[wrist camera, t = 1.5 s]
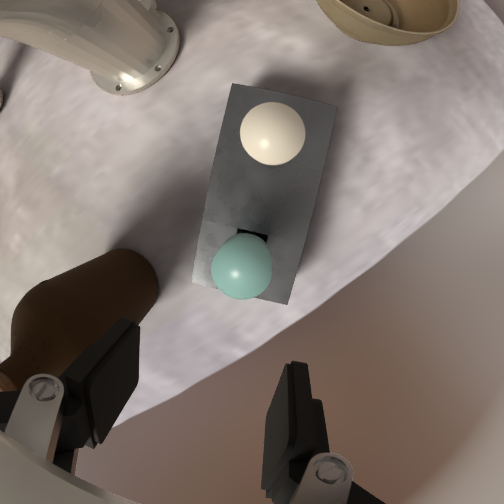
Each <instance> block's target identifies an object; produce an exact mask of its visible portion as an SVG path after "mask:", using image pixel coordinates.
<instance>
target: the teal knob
mask: <svg viewBox="0 0 504 504" xmlns="http://www.w3.org/2000/svg"><path fill="white" fill-rule="evenodd" d="M211 273H212V278H213V281H214V283H215V284H216V286H217V287H218V289H219V290H220V291H221V292H223V293H224V294H225V295H227V296H229V297H231V298H235V299H250V298H254V297H256V296H258V295H259V294H261V293H262V292H263V291H264V290H265V289H266V288H267V286H268V285H269V283H270V280H271V276H272V254H271V251H270V248H269V246H268V245H267V244H266V242H265V241H264V240H262V239H261V238H260V237H258V236H256V235H254V234H249V233H240V234H236V235H234V236H232V237H230V238H229V239H227V240H226V241H225V242H224V244H223V245H222V246H221V248H220V249H219V250H218V252H217V253H216V255H215V257H214V259H213V261H212V266H211Z"/></svg>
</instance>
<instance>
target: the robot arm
mask: <svg viewBox="0 0 504 504" xmlns="http://www.w3.org/2000/svg"><path fill="white" fill-rule="evenodd" d="M156 1H157V0H141V1H140V2H139V0H0V37H3V38H7V39H11V40H14V41H17V42H20V43H23V44H26V45H29V46H32V47H34V48H37V49H40V50H42V51H45V52H47V53H50V54H52V55H55V56H57V57H60V58H62V59H65V60H67V61H69V62H72V63H74V64H76V65H79V66H81V67H83V68H85V69H88V70H90V73H91V76H92V79H93V80H94V82H95V83H96V85H97V86H98V87H100V88H101V89H102V90H104V91H106V92H109V93H112V94H115V95H129V94H133V93H137V92H140V91H142V90H144V89H146V88H148V87H149V86H151V85H152V84H154V83H155V82H157V81H158V80H159V79H160V78H161V77H162V76H163V75H164V74H165V73H166V72H167V71H168V69H169V68H170V67H171V65H172V63H173V62H174V60H175V58H176V55H177V53H178V50H179V45H180V34H179V30H178V28H177V26H176V24H175V22H174V21H173V20H172V19H171V17H169V16H168V15H167V14H166V13H164V12H161V11H159V10H156V8H157V3H156ZM172 31H173V32H172ZM160 69H161V70H160ZM159 70H160V71H159ZM120 89H121V90H120ZM139 346H140V326H138V325H137V323H136V321H135V320H131V319H128V318H125V317H121V318H119V319H118V320H117V322H116V323H115V324H114V325H113V326H112V327H111V328H110V329H109V330H108V331H107V332H106V333H105V334H104V335H103V336H102V337H101V338H100V339H99V340H98V341H97V342H96V341H95V342H92V343H91V344H90V345H89V346H88V347H87V348H86V349H85V350H84V351H83V352H82V353H81V354H80V355H79V356H78V357H77V358H76V359H75V360H74V361H73V363H72V364H71V365H70V366H69V367H68V368H67V369H66V370H65V371H64V372H63V373H62V374H61V375H60V376H59V377H58V378H56V377H55V376H52V375H49V374H37V375H35V376H32V377H31V378H29V379H28V380H27V381H26V383H25V384H24V386H23V389H22V390H16V391H3V392H0V504H139V503H136V502H134V501H131V500H128V499H126V498H123V497H120V496H118V495H115V494H113V493H111V492H108V491H106V490H104V489H101V488H99V487H97V486H95V485H92V484H90V483H88V482H86V481H84V480H82V479H80V478H78V477H76V476H75V471H76V464H77V458H78V452H79V448H83V447H84V445H86V446H88V447H90V448H92V449H94V448H95V447H96V445H97V443H99V444H102V443H103V441H104V440H105V438H106V436H107V435H108V433H109V431H110V430H111V428H112V426H113V425H114V423H115V421H116V420H117V418H118V416H119V414H120V413H121V411H122V409H123V408H124V406H125V405H126V403H127V401H128V400H129V398H130V396H131V395H132V393H133V391H134V390H135V388H136V386H137V384H138V380H139ZM352 478H353V469H352V466H351V465H350V463H349V462H348V461H347V460H346V459H345V458H343V457H342V456H340V455H337V454H334V453H330V451H329V444H328V438H327V430H326V424H325V418H324V411H323V406H322V401H321V400H319V399H312V394H311V386H310V378H309V371H308V365H307V363H302V362H297V361H292V362H291V364H285V366H284V369H283V372H282V375H281V377H280V380H279V383H278V386H277V388H276V391H275V394H274V396H273V399H272V402H271V404H270V407H269V410H268V412H267V416H266V424H265V439H264V454H263V468H262V482H261V489H263V490H266V498H272V502H273V503H274V504H385V503H384V502H382V501H381V500H379V499H378V498H376V497H375V496H373V495H372V494H370V493H369V492H367V491H366V490H364V489H363V488H362V487H360V486H359V485H357V484H356V483H354V482H353V481H352Z"/></svg>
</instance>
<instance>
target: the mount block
mask: <svg viewBox="0 0 504 504" xmlns="http://www.w3.org/2000/svg"><path fill="white" fill-rule="evenodd" d="M267 102H277V103H282V104H285V105H287V106H289V107H291V108H292V109H293V110H295V111H296V112H297V113H298V115H299V116H300V117H301V119H302V121H303V123H304V127H305V141H304V144H303V146H302V148H301V150H300V151H299V153H298V154H297V155H296V156H295V157H294V158H292V159H291V160H290V161H288V162H286V163H284V164H281V165H266V164H263V163H260V162H259V161H257V160H255V159H254V158H253V157H251V156H250V155H249V154H248V153H247V152H246V150H245V149H244V147H243V145H242V142H241V138H240V128H241V124H242V121H243V119H244V117H245V116H246V114H247V113H248V112H249V111H250V110H251V109H253V108H254V107H256V106H258V105H260V104H263V103H267ZM336 111H337V106H333V105H330V104H326V103H323V102H319V101H315V100H311V99H307V98H303V97H299V96H295V95H291V94H286V93H282V92H277V91H272V90H267V89H262V88H257V87H251V86H246V85H240V84H233V83H232V86H231V90H230V94H229V98H228V102H227V106H226V110H225V115H224V119H223V123H222V127H221V132H220V136H219V140H218V145H217V149H216V154H215V158H214V163H213V168H212V172H211V177H210V182H209V187H208V192H207V197H206V202H205V207H204V212H203V217H202V223H201V228H200V233H199V239H198V245H197V250H196V256H195V262H194V268H193V274H192V280H191V282H193V283H197V284H201V285H205V286H209V287H213V288H217V289H218V287H217V286H216V284H215V283H214V281H213V278H212V273H211V266H212V261H213V259H214V257H215V255H216V253H217V252H218V250H219V249H220V248H221V246H222V245H223V244H224V242H225V241H226V240H227V239H229V238H230V237H232V236H234V235H236V234H240V233H241V230H242V229H244V230H248V231H252V232H257V233H261V234H265V235H267V238H266V244H267V245H268V246H269V248H270V251H271V254H272V276H271V280H270V283H269V285H268V286H267V288H266V289H265V290H264V291H263V292H262V293H261V294H259V295H258V296H256V297H254V298H259V299H263V300H267V301H272V302H276V303H281V304H285V305H287V304H288V301H289V298H290V294H291V291H292V287H293V284H294V280H295V277H296V273H297V270H298V266H299V262H300V259H301V255H302V252H303V248H304V244H305V240H306V237H307V233H308V229H309V225H310V221H311V218H312V214H313V210H314V206H315V202H316V198H317V194H318V190H319V186H320V182H321V177H322V173H323V169H324V165H325V160H326V156H327V152H328V147H329V143H330V138H331V134H332V129H333V125H334V120H335V115H336Z"/></svg>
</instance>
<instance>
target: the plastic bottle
mask: <svg viewBox="0 0 504 504" xmlns="http://www.w3.org/2000/svg"><path fill="white" fill-rule="evenodd" d="M2 103H3V92H2V90H1V88H0V109H1V106H2Z"/></svg>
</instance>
